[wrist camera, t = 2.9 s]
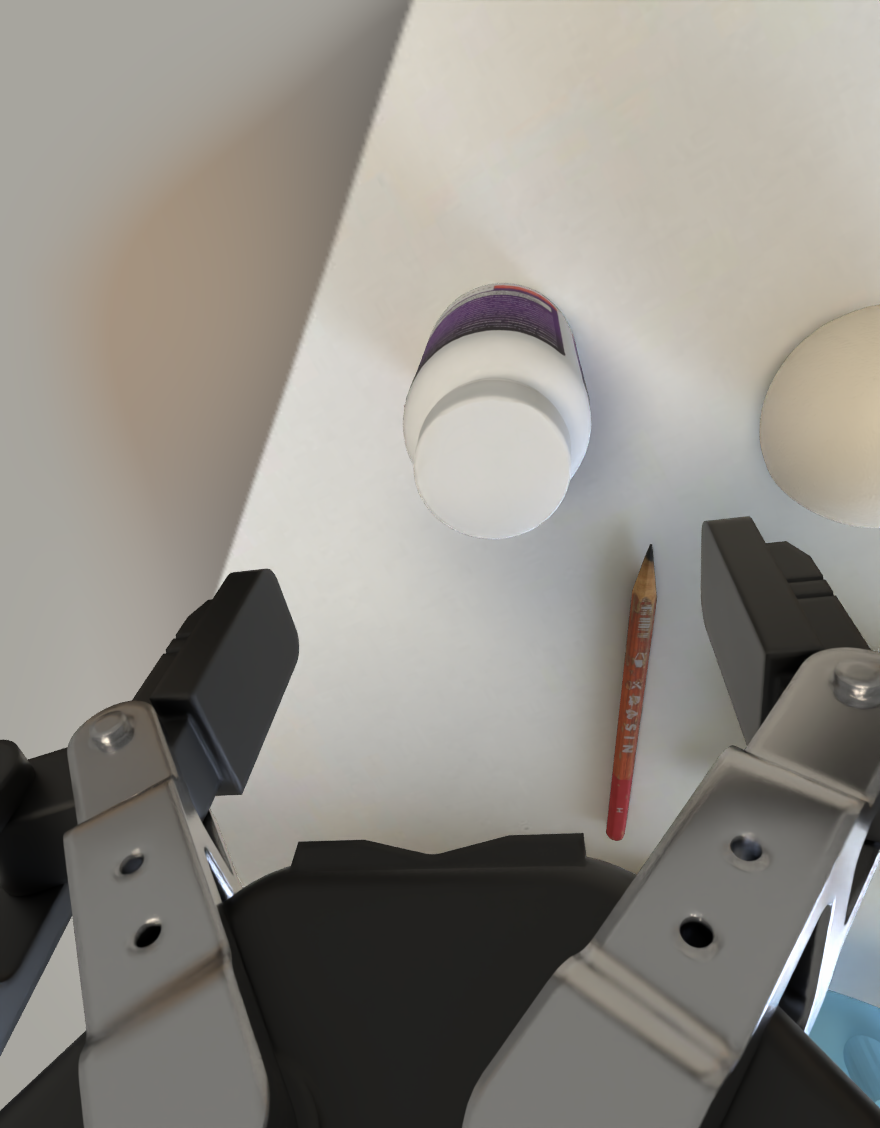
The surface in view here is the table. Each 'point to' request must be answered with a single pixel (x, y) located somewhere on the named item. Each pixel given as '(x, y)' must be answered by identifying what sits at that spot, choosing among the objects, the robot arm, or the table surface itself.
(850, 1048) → the teapot
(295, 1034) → the robot arm
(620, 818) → the pencil
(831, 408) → the cream round ball
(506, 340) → the pill bottle
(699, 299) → the table surface
